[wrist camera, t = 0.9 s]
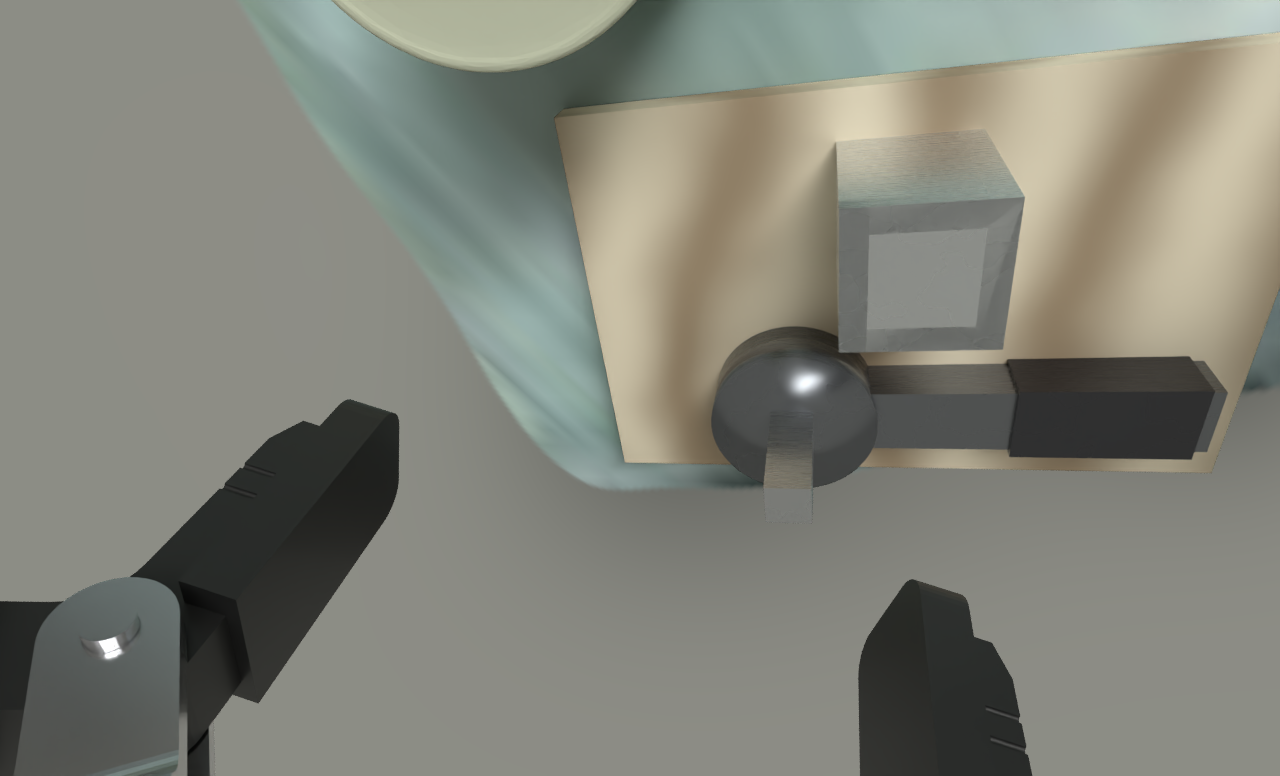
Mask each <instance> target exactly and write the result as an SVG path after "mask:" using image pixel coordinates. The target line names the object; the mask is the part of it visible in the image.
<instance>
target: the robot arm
mask: <svg viewBox="0 0 1280 776" xmlns="http://www.w3.org/2000/svg"><path fill="white" fill-rule="evenodd" d="M398 481H399V419H398V416H397V415H396V414H395V413H392V412H388V411H385V410H382V409H379V408H376V407H373V406H369V405H366V404H363V403H360V402H357V401H354V400H351V399H350V400H345V401H344V402H342V403H341V404H340V405H339V406H338V407H337V408H336V409H335V410H334V411H333V412H332V414H330V415H329V417H328V418H327V419H326V420H325V421H324V422H323V423H322V424H321V425H320V426H318V425H314V424H312V423H308V422H305V421H302V422H300V423H298V424H296V425H295V426H292V427H291V428H288V429H286V430H284V431H283V432H281V433H279V434H277V435H275V436H273V437H271V438H269V439H268V440H267V441H266V442H265V443H264V444H263V445H262V446H261V447H260V448H259V449H258V450H257V451H256V452H255V453H254V454H253V455H252V456H251V457H250V459H248V460H247V461H246V462H245V466H244V468H239V470H238V471H237V472H236V473H235V474H234V475H233V476H232V477H231V478H230V479H229V480H228V481H227V482H226V483H225V486H224V488H223V489H219V490H218V491H217V492H216V493H215V494H214V495H213V496H212V497H211V498H210V499H209V500H208V501H207V502H206V503H205V504H204V505H203V506H202V507H201V508H200V509H199V510H198V511H197V512H196V513H195V514H194V515H193V516H192V517H191V518H190V519H189V520H188V521H187V522H186V523H185V524H184V525H183V526H182V527H181V528H180V530H179V531H178V532H176V534H175V535H173V537H172V538H171V539H170V540H169V541H168V542H167V543H166V544H165V545H164V546H163V547H162V548H161V549H160V550H159V551H158V552H157V553H156V554H155V555H154V556H153V557H152V558H151V559H150V560H149V561H148V562H147V563H146V564H145V565H144V566H143V567H142V568H140V569H139V570H138V571H137V572H136V573H134V574H133V575H132V576H130V577H125V578H117V579H112V580H108V581H104V582H100V583H97V584H94V585H92V586H89V587H87V588H85V589H83V590H81V591H79V592H77V593H76V594H74V595H72V596H71V597H69V598H67V599H66V600H65V601H62V602H8V601H5V602H4V601H0V776H215V751H214V750H215V749H214V723H213V720H214V719H215V718H216V716H217V715H218V713H219V712H220V711H221V709H222V708H223V707H224V705H225V704H226V703H227V701H228V700H229V698H230V697H231V696H232V695H235V696H238V697H241V698H244V699H247V700H250V701H253V702H256V703H259V702H260V700H261V699H262V697H263V696H264V695H265V693H266V692H267V690H268V689H269V687H270V686H271V684H272V683H273V681H274V680H275V679H276V677H277V676H278V674H279V673H280V671H281V670H282V669H283V667H284V665H285V664H286V663H287V661H288V660H289V658H290V657H291V655H292V654H293V653H294V651H295V650H296V648H297V647H298V645H299V644H300V642H301V641H302V639H303V638H304V637H305V635H306V634H307V632H308V631H309V629H310V628H311V626H312V625H313V623H314V622H315V621H316V619H317V618H318V616H319V615H320V613H321V612H322V611H323V609H324V608H325V606H326V605H327V603H328V602H329V600H330V599H331V598H332V596H333V595H334V593H335V592H336V590H337V589H338V587H339V586H340V584H341V583H342V582H343V580H344V579H345V577H346V576H347V574H348V573H349V571H350V570H351V569H352V567H353V566H354V564H355V563H356V561H357V560H358V558H359V557H360V555H361V554H362V553H363V551H364V549H365V548H366V547H367V545H368V544H369V542H370V541H371V540H372V538H373V537H374V535H375V534H376V532H377V531H378V529H379V528H380V526H381V525H382V524H383V522H384V520H385V519H386V517H387V516H388V514H389V512H390V510H391V507H392V505H393V502H394V500H395V497H396V493H397V489H398ZM858 680H859V732H860V733H859V736H860V738H859V739H860V776H1032V772H1031V768H1030V763H1029V758H1028V755H1027V754H1025V748H1026V743H1025V738H1024V733H1023V729H1022V724H1021V723H1019V717H1020V713H1019V709H1018V704H1017V699H1016V694H1015V689H1014V684H1013V679H1012V677H1011V676H1010V674H1009V672H1008V670H1007V669H1006V667H1005V665H1004V663H1003V662H1002V660H1001V658H1000V656H999V655H998V653H997V651H996V649H995V647H994V646H993V644H992V643H991V642H988V641H985V640H981V639H979V638H976V637H974V635H973V629H972V623H971V617H970V611H969V606H968V602H967V600H966V598H965V597H964V596H963V595H961V594H958V593H954V592H951V591H948V590H945V589H942V588H938V587H935V586H932V585H929V584H926V583H923V582H919V581H916V580H913V579H912V580H909V581H907V582H906V583H905V585H904V586H903V587H902V588H901V590H900V591H899V593H898V594H897V596H896V597H895V598H894V600H893V601H892V603H891V604H890V606H889V607H888V608H887V610H886V611H885V613H884V614H883V616H882V617H881V618H880V620H879V621H878V623H877V624H876V626H875V627H874V628H873V630H872V631H871V633H870V634H869V636H868V638H867V640H866V643H865V645H864V648H863V651H862V654H861V659H860V664H859V678H858Z"/></svg>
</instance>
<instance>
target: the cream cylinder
mask: <svg viewBox="0 0 1280 776" xmlns="http://www.w3.org/2000/svg"><path fill="white" fill-rule="evenodd" d="M332 1H333V2H334V3H335V4H336V5H337V6H338V7H339V8H340V9H341V10H343V11H344V12H345V13H346V14H347V15H348V16H349V17H351V18H352V19H353V20H354V21H356V22H357V23H358V24H360V25H361V26H362V27H363V28H365V29H366V30H368V31H369V32H371V33H372V34H374V35H375V36H377V37H378V38H380V39H382V40H383V41H385V42H387V43H388V44H390V45H392V46H393V47H395V48H397V49H399V50H402V51H404V52H406V53H408V54H410V55H412V56H414V57H417V58H419V59H422V60H425V61H428V62H431V63H433V64H436V65H440V66H444V67H449V68H453V69H458V70H464V71H470V72H512V71H518V70H525V69H530V68H534V67H538V66H542V65H544V64H547V63H550V62H553V61H556V60H559V59H561V58H563V57H565V56H568V55H570V54H572V53H574V52H576V51H577V50H579V49H581V48H583V47H584V46H586V45H588V44H589V43H591V42H592V41H594V40H595V39H596V38H598V37H599V36H601V35H602V34H603V33H604V32H606V31H607V30H608V29H609V28H611V27H612V26H613V25H614V24H615V23H616V22H617V21H618V20H619V19H620V18H621V17H623V16H624V15H625V13H626V12H627V11H628V10H629V9H630V8H631V7H632V6H633V5H634V4H635V2H636V1H637V0H332Z"/></svg>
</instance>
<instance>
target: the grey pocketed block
mask: <svg viewBox="0 0 1280 776" xmlns="http://www.w3.org/2000/svg"><path fill="white" fill-rule="evenodd" d="M1024 201H1025V196H1024V194H1023V193H1022V191H1021V189H1020V188H1019V186H1018V184H1017V182H1016V181H1015V179H1014V177H1013V176H1012V174H1011V172H1010V171H1009V169H1008V167H1007V166H1006V164H1005V162H1004V160H1003V159H1002V157H1001V155H1000V154H999V152H998V150H997V149H996V147H995V145H994V144H993V142H992V140H991V138H990V137H989V135H988V133H987V132H986V130H985V129H975V130H963V131H952V132H940V133H929V134H917V135H906V136H894V137H883V138H871V139H860V140H848V141H837V142H836V272H837V307H838V342H839V353H851V352H905V351H959V350H1003V346H1004V339H1005V332H1006V325H1007V318H1008V311H1009V304H1010V297H1011V290H1012V284H1013V277H1014V270H1015V263H1016V256H1017V249H1018V242H1019V235H1020V228H1021V221H1022V215H1023V208H1024Z"/></svg>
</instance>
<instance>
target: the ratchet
mask: <svg viewBox="0 0 1280 776" xmlns="http://www.w3.org/2000/svg"><path fill="white" fill-rule="evenodd" d="M1227 395H1228V392H1227V390H1226V389H1225V388H1224V386H1223V385H1222V384H1221V383H1220V381H1219V380H1218V379H1217V377H1216V376H1215V375H1214V373H1213V372H1212V371H1211V369H1210V368H1209V367H1208V365H1207V364H1206V363H1205V361H1193V360H1192V359H1191V358H1190V356H1177V357H1113V358H1049V359H1008V361H1007V364H941V365H871V366H868V365H867V363H866V361H865V360H864V358H863V357H862V356H861V355H860V353H859V352H851V353H839V342H838V337H837V336H835V335H833V334H831V333H828V332H826V331H823V330H819V329H815V328H809V327H800V326H789V327H779V328H774V329H770V330H767V331H764V332H761V333H758V334H756V335H754V336H752V337H750V338H749V339H747V340H745V341H744V342H742V343H741V344H740V345H739V346H738V347H736V348H735V349H734V351H733V352H732V353H731V354H730V355H729V357H728V358H727V360H726V361H725V363H724V365H723V367H722V369H721V372H720V376H719V380H718V385H717V390H716V395H715V400H714V404H713V409H712V416H711V428H712V433H713V437H714V439H715V442H716V444H717V446H718V448H719V450H720V452H721V453H722V454H723V456H724V457H725V458H726V459H727V460H728V461H729V462H730V463H731V464H732V465H733V466H734V467H735V468H736V469H738V470H739V471H740V472H742V473H744V474H745V475H747V476H749V477H751V478H753V479H755V480H757V481H759V482H762V483H764V486H763V491H764V505H765V518H766V522H782V523H809V524H811V523H812V506H813V505H812V504H813V487H819V486H823V485H827V484H830V483H832V482H835V481H838V480H840V479H842V478H844V477H846V476H847V475H849V474H850V473H852V472H853V471H855V470H856V469H857V468H858V467H859V466H860V465H861V464H862V463H863V462H864V461H865V460H866V459H867V457H868V456H869V454H870V453H871V451H872V449H873V448H909V449H992V450H1007V452H1008V455H1009V457H1033V458H1103V459H1172V460H1192V457H1193V455H1194V452H1207V451H1208V448H1209V445H1210V442H1211V440H1212V437H1213V434H1214V431H1215V428H1216V426H1217V423H1218V420H1219V417H1220V414H1221V412H1222V409H1223V406H1224V403H1225V400H1226V397H1227Z"/></svg>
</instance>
